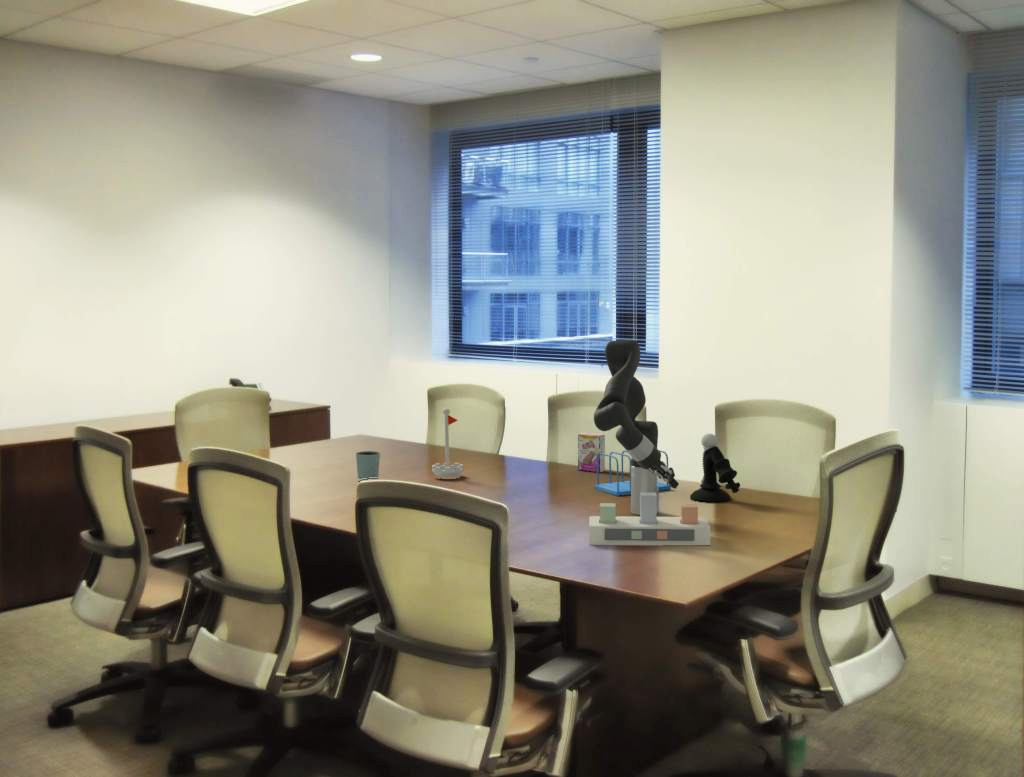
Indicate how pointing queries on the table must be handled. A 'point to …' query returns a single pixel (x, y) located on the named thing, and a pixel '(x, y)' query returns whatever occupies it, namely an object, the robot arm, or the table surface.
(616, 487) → the file sorter
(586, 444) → the candy bar box
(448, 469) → the flag stand
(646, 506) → the key grey
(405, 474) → the table surface
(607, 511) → the key sage
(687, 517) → the key terracotta
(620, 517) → the white flat bar
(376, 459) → the teal tapered cup
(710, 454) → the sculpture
